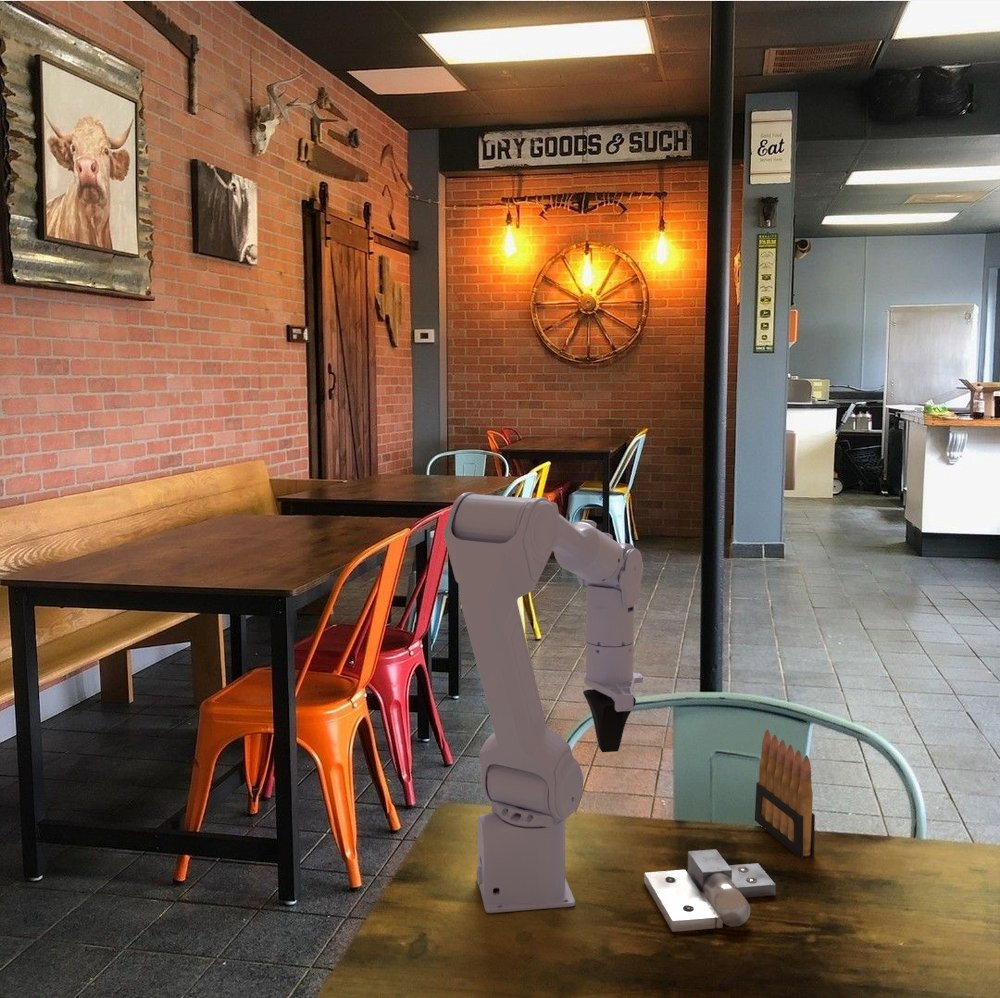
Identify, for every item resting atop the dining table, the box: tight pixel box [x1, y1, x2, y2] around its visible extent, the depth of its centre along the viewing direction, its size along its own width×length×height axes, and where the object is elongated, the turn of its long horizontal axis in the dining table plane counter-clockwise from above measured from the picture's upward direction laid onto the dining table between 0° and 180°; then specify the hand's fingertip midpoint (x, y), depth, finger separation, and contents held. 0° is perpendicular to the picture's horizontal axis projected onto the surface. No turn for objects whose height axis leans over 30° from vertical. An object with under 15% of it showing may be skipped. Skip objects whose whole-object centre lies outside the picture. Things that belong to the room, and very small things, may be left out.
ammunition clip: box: [754, 729, 816, 859], centre depth 122 cm, size 11×2×12 cm, turn 15°
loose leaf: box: [687, 848, 777, 899], centre depth 111 cm, size 8×5×3 cm, turn 98°
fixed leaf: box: [643, 869, 751, 933], centre depth 107 cm, size 8×10×3 cm
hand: (608, 749), depth 124 cm, fingers closed
